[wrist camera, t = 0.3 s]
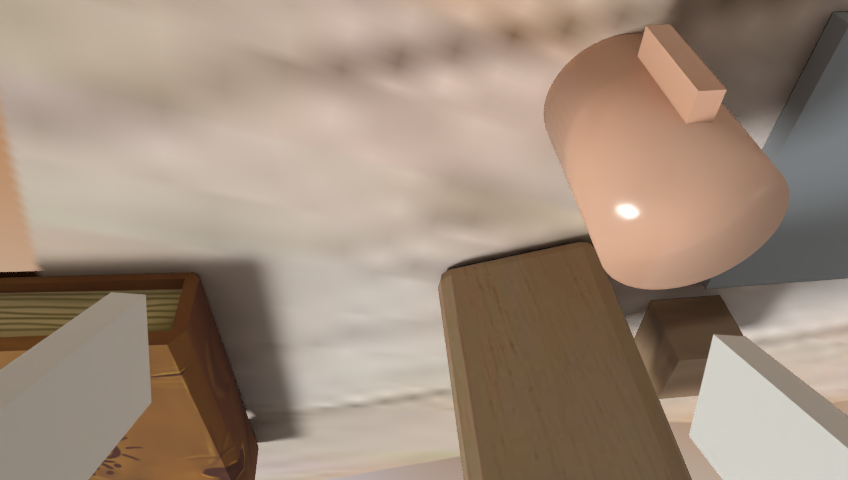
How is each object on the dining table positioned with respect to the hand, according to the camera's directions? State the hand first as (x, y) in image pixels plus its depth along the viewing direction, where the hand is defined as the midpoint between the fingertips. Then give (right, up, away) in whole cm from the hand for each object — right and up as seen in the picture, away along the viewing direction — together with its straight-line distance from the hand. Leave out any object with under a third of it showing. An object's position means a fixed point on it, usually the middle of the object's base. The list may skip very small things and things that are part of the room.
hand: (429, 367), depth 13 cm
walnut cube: (+18, -3, +29) cm, 34 cm away
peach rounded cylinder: (+9, +10, +15) cm, 20 cm away
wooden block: (+6, -1, +25) cm, 26 cm away
